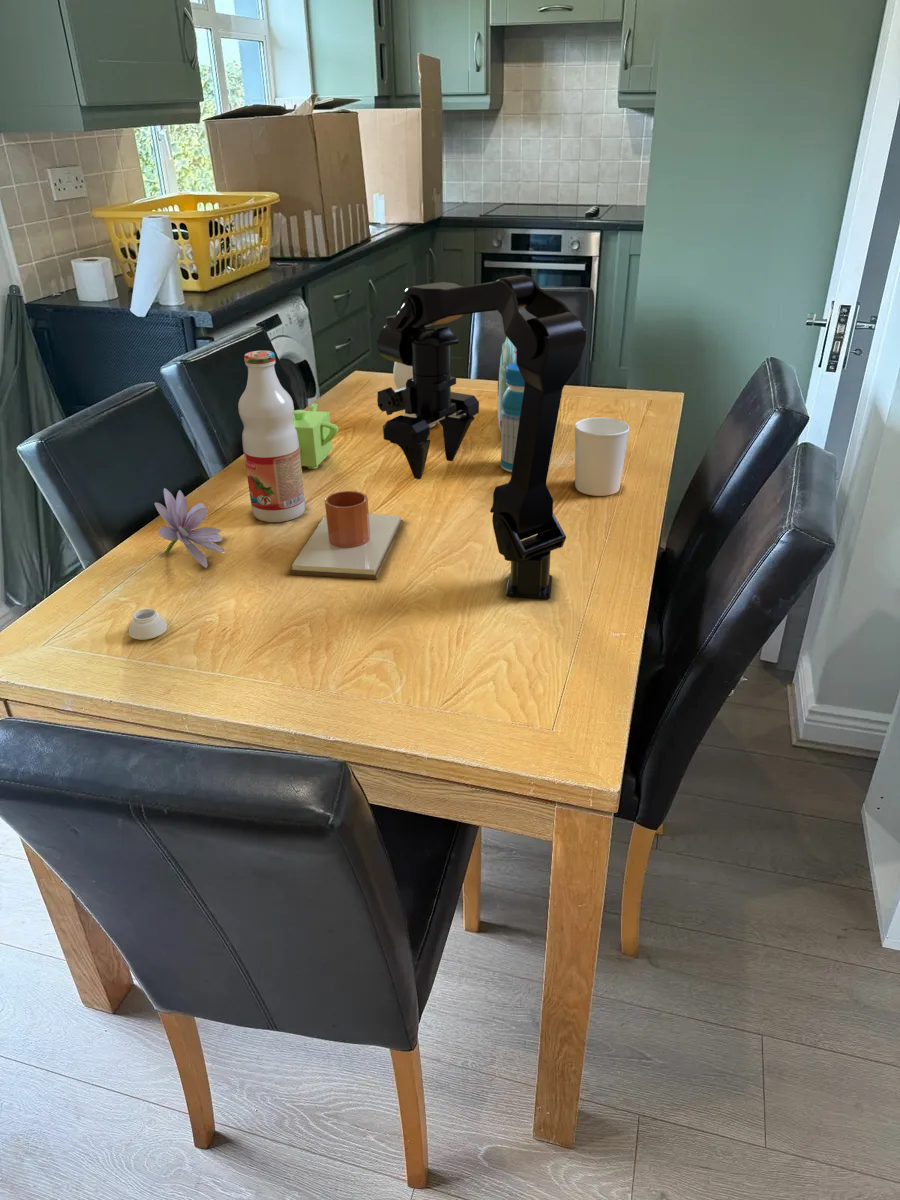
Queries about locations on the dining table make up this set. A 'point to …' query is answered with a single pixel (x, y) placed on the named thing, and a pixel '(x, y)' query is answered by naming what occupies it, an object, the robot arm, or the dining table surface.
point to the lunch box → (504, 373)
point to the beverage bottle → (511, 415)
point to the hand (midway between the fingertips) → (434, 469)
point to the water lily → (187, 526)
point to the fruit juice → (270, 443)
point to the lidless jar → (146, 624)
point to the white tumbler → (600, 455)
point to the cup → (403, 380)
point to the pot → (347, 519)
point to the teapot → (314, 435)
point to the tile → (348, 551)
